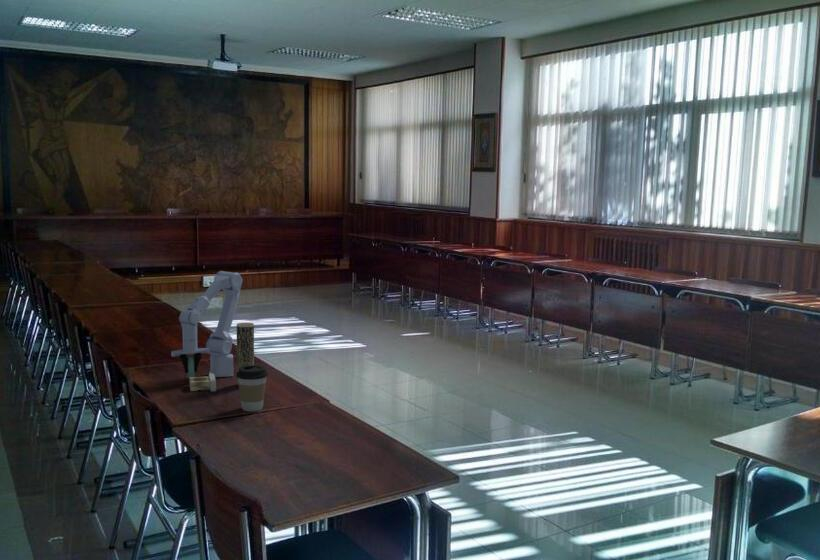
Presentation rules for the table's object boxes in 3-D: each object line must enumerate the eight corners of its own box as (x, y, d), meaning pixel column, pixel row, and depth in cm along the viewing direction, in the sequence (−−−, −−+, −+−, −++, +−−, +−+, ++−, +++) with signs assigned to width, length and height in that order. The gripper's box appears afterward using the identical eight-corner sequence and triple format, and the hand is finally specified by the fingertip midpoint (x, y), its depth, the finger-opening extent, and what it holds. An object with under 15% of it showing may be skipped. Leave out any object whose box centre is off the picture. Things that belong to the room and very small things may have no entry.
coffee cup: (251, 402, 278) (251, 363, 276) (274, 407, 272) (274, 367, 270) (229, 409, 268) (229, 369, 266) (253, 415, 262) (252, 374, 260)
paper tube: (256, 383, 303) (256, 323, 300) (251, 387, 297) (250, 326, 293) (240, 382, 304) (239, 322, 301) (234, 386, 297) (234, 325, 294)
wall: (214, 382, 302) (213, 373, 302) (216, 391, 291) (215, 381, 290) (208, 383, 302) (208, 373, 301) (210, 391, 290) (210, 381, 290)
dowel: (194, 375, 303) (194, 356, 302) (194, 377, 300) (194, 358, 299) (186, 376, 302) (186, 357, 301) (187, 378, 299) (186, 359, 298)
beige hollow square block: (209, 384, 300) (209, 376, 299) (210, 389, 292) (210, 381, 292) (189, 385, 297) (189, 377, 297) (190, 391, 290) (190, 382, 290)
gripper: (205, 335, 306) (206, 367, 308) (169, 338, 299) (170, 371, 301) (210, 339, 300) (210, 371, 302) (172, 342, 293) (173, 375, 295)
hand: (190, 372), depth 301 cm, fingers closed on dowel, 3 cm apart
